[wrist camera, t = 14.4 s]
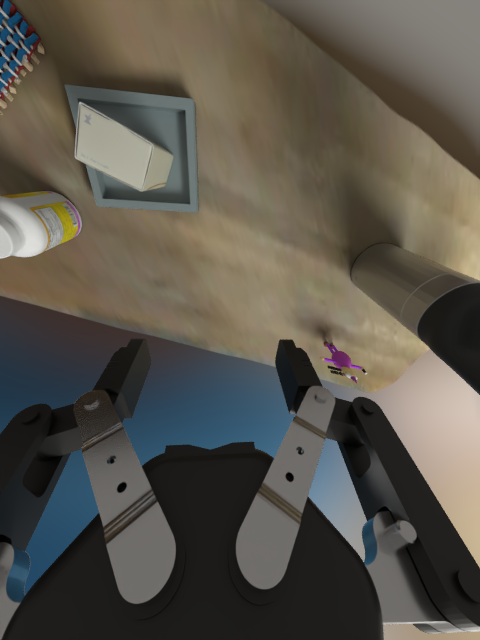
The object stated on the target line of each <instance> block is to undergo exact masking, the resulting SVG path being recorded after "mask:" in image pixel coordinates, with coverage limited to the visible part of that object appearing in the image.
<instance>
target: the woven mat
mask: <svg viewBox="0 0 480 640" xmlns="http://www.w3.org/2000/svg"><path fill="white" fill-rule="evenodd" d="M17 10H18V9H17V7H16V6H15V5H14V4H13V3H12V4H11V3H10V2H9V1H8V0H0V106H1V107H3V108H4V109H5V108H6V107H7V103H6V102H5V101H4V95H5V96H6V97H7V98H8V99H9V100H10V101H11V102H12V100H13V97H12V96H11V95H10V94H9V93H8V92H7V90H8V88H9V90H10V92H12V93H15V94H16V88H15V87H14V85H13V84H12V83H13V81H15V82H16V83H17V84H18V85H19V84H20V82H21V80H20V79H19V77H18V74H19V73H21V74H22V75H23V76H25V75H26V72H25V71H24V68H27V69H28V70H29V71H30V72H31V71H32V70H33V65H32V64H31V63H30V57H31V58H32V59H33V60H34V61H35V62H36V63H37V64H38V63H39V62H40V61H39V60H38V59H37V57H36V56H35V54H34V53H33V52H34V50H35V49H36V48H37V50H38V52H40V53H42V54H44V48H43V46H42V44H41V43H40V41H41V38H40V37H39V36H38V35H37V34H35V33H33V32H34V31H35V29H34V28H33V26H32V25H31V26H30V27H29V26H28V25H27V24H26V21H27V20H26V19H25V18H24V16H23V15H22V14H21V15H20V13H19V12H17ZM2 114H3V112H2V111H1V110H0V115H2Z"/></svg>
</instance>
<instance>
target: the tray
mask: <svg viewBox="0 0 480 640" xmlns="http://www.w3.org/2000/svg"><path fill="white" fill-rule="evenodd" d="M64 85H65V89H66V93H67V97H68V100H69V104H70V108H71V112H72V115H73V119H74V123H75V126H76V128H77V118H78V109H79V102H82V103H84V104H86V105H88V106H90V107H92V108H94V109H95V110H97V111H99V112H101V113H103V114H104V115H106V116H108V117H110V118H112V119H114V120H115V121H117V122H119V123H121V124H123V125H124V126H126V127H128V128H130V129H132V130H134V131H135V132H137V133H139V134H141V135H142V136H144V137H146V138H147V139H149V140H151V141H152V142H154V143H156V144H157V145H159V146H161V147H162V148H164V149H166V150H167V151H169V152H170V153H172V154H173V155H174V157H173V161H172V165H171V168H170V172H169V175H168V178H167V181H166V185H165V187H160V188H156V189H151V190H147V191H142V192H141V191H139V190H137V189H135V188H132V187H130V186H128V185H126V184H124V183H122V182H120V181H118V180H116V179H114V178H112V177H110V176H108V175H106V174H104V173H102V172H100V171H98V170H96V169H94V168H92V167H90V166H88V165H87V164H86V168H87V171H88V175H89V179H90V183H91V186H92V190H93V194H94V198H95V201H96V205H97V206H100V207H116V208H132V209H148V210H165V211H181V212H197V213H198V211H199V194H198V165H197V136H196V106H195V102H194V99H189V98H181V97H172V96H163V95H154V94H145V93H136V92H128V91H119V90H110V89H101V88H92V87H83V86H74V85H66V84H64Z"/></svg>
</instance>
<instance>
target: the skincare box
mask: <svg viewBox="0 0 480 640" xmlns="http://www.w3.org/2000/svg"><path fill="white" fill-rule="evenodd" d="M173 157H174V155H173V154H172V153H170V152H169V151H167V150H166V149H164V148H162V147H161V146H159V145H157V144H156V143H154V142H152V141H151V140H149V139H147V138H146V137H144V136H142V135H141V134H139V133H137V132H135V131H134V130H132V129H130V128H128V127H126V126H124V125H123V124H121V123H119V122H117V121H115V120H114V119H112V118H110V117H108V116H106V115H104V114H103V113H101V112H99V111H97V110H95V109H94V108H92V107H90V106H88V105H86V104H84V103H82V102H79V109H78V118H77V128H76V140H75V158H76V159H78V160H79V161H81V162H83V163H85V164H87V165H88V166H90V167H92V168H94V169H96V170H98V171H100V172H102V173H104V174H106V175H108V176H110V177H112V178H114V179H116V180H118V181H120V182H122V183H124V184H126V185H128V186H130V187H132V188H135V189H137V190H139V191H141V192H142V191H147V190H151V189H156V188H160V187H165V185H166V181H167V178H168V175H169V172H170V168H171V165H172V161H173Z"/></svg>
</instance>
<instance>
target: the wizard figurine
mask: <svg viewBox="0 0 480 640" xmlns="http://www.w3.org/2000/svg"><path fill="white" fill-rule="evenodd" d="M325 347H328V348H329V350H330V351H331V353H332V360H331V359H327V358H324V357H320V358H321V360H325V361H329V362H333V363H334V365H335V366H336V367H338V368H339V369H337V368H335V367H332V366H331V367H330V366H328V369H329V368H331V369H333V370H337V371H342V372H343V373H341V372H339V374H340V373H341V374H340V375H342V376H347V377H349V378H351V379H352V380H353V381H355V382H356V383H357V381H356V380H357V379H358V377H357V376H356V374H355V373H354V372H353V371H352V370H351V369H350V367H354V368H358V369H361V370H362V371H363V372H364V373H365V374H367V373H366V371H365V370H364V368H363V367H360V366H356V365H351V360H350V358H349V356H348V355H347V354H346V353H344V352H342V351H338V350H337V349H336V347H335V346H334V345H331V347H330V346H329V344H328V343H325ZM332 349H334V350H335V351H336V352H334V351H333V350H332ZM341 369H342V370H341ZM333 370H332V371H331V370H330V371H331V373H333V374H334V373H335V374H338V372H337V371H333ZM336 372H337V373H336Z"/></svg>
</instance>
